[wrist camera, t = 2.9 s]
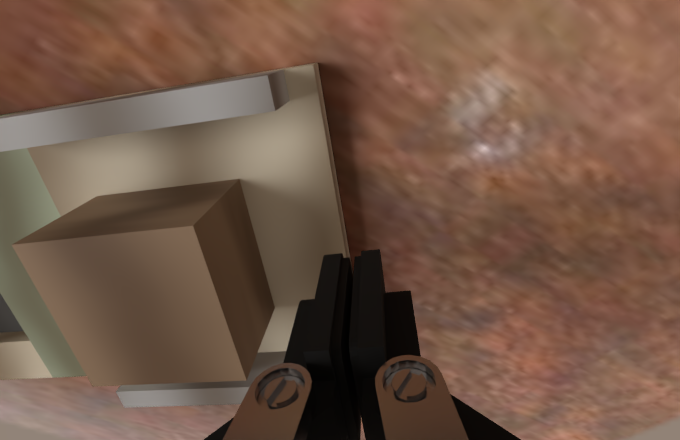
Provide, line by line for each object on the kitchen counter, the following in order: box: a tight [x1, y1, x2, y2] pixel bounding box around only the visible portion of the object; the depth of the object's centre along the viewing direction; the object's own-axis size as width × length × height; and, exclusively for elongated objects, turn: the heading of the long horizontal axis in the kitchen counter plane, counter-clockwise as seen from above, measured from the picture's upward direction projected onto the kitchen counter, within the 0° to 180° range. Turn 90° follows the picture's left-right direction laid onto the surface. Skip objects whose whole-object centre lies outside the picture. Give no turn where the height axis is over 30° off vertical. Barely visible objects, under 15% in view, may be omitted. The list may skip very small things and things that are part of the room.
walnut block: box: [12, 179, 275, 386], centre depth 15 cm, size 6×6×4 cm
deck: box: [0, 63, 353, 407], centre depth 17 cm, size 23×13×3 cm, turn 99°
